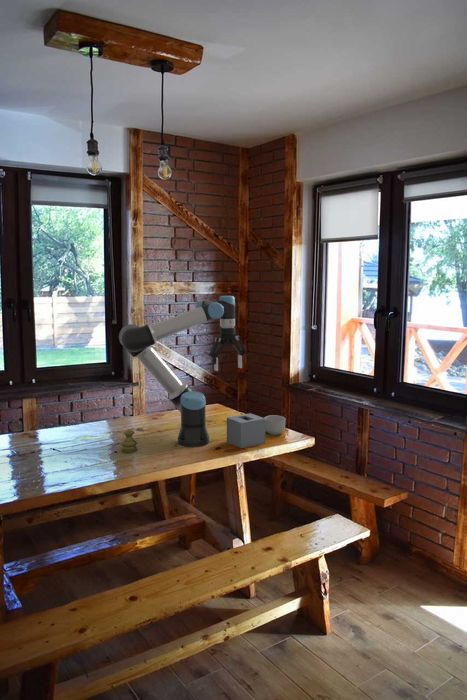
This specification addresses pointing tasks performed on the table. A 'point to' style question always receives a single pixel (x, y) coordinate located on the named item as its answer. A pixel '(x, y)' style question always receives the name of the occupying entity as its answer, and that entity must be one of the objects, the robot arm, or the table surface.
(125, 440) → the olive chess piece
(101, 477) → the table surface
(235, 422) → the box
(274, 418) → the teacup
